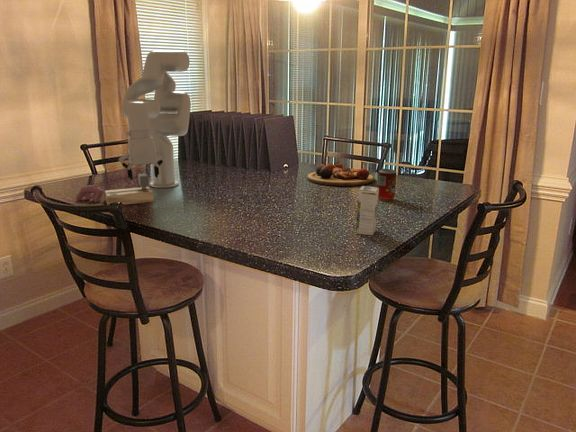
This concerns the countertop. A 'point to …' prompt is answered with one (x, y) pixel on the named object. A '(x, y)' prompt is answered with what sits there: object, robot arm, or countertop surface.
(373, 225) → the syrup box
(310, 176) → the wooden plate with food
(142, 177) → the fader knob
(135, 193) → the fader board
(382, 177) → the soda can
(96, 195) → the pink domed lump
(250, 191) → the countertop surface
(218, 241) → the countertop surface
